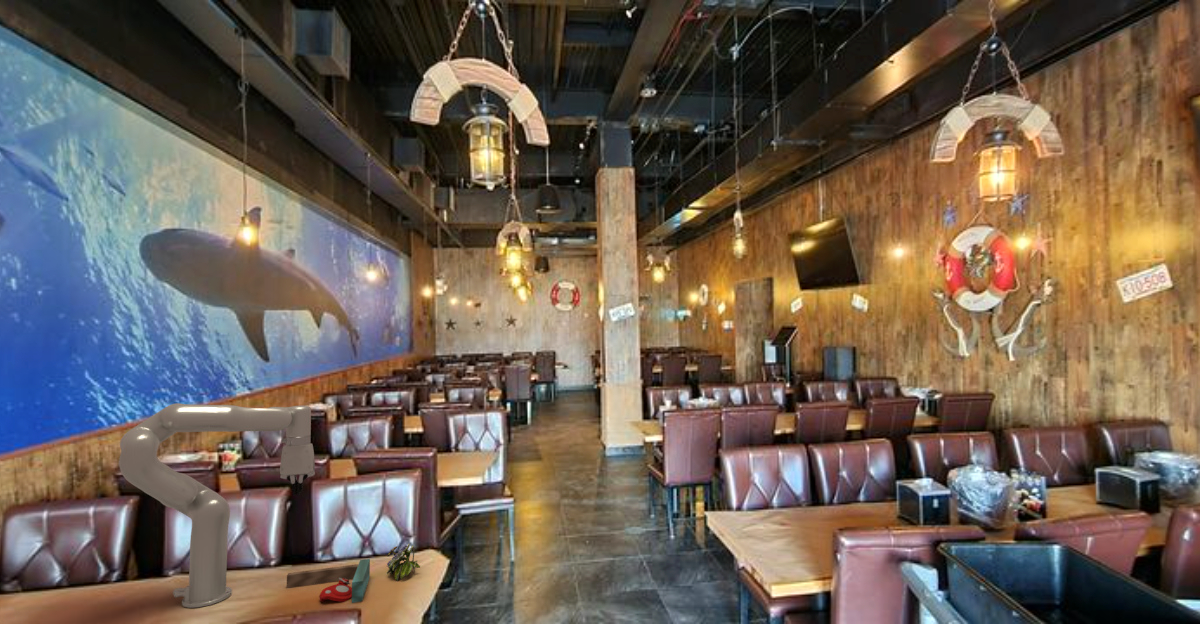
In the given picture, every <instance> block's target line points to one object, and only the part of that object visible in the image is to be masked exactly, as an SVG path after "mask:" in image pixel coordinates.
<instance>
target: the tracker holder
mask: <svg viewBox="0 0 1200 624" xmlns="http://www.w3.org/2000/svg"><path fill="white" fill-rule="evenodd" d="M339 579H340V580H339V581H338V583H336V584H332V585H329V586H327V587H325V588H323V589H322V591H321V592H320V594H319V596H318V597H319V601H320V602H321V603H323V602H325V601H328V600H330V601H334V602H343V603H344V602H347V601H349V600H352V586H349V585H351V582H350V580H347V579H344V578H343V579H342V578H339Z"/></svg>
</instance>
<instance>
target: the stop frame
mask: <svg viewBox="0 0 1200 624" xmlns="http://www.w3.org/2000/svg"><path fill="white" fill-rule="evenodd" d="M370 566H371V559H370V558H364V559H360V560H359V563H357V564H356V563H355V564H349V565H343V566H341V565H340V566H333V567H325V568H319V569H312V570H311V569H309V570H303V571H296V572H295V571H294V572H288V573H287V575H286V589H290V588H291V589H292V588H299V587H305V586H312V585H319V584H328V583H334V582H339V580H340V579H339V578H342V579H343V578H344V579H347V580H349V581H350V580H352V581H351V588H352V598H351V604H354V603H360V602H363V601H364V597H365V594H366V591H367V587H368V583H369V580H370V577H371V573H370V572H371V567H370Z"/></svg>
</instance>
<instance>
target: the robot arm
mask: <svg viewBox="0 0 1200 624" xmlns="http://www.w3.org/2000/svg"><path fill="white" fill-rule="evenodd" d="M311 422H312V408H311V407H310V406H309V405H293V406H284V407H283V406H271V407H270V406H269V407H267V408H259V407H257V408H256V407H247V406H246V407H245V406H238V405H234V404H233V405H232V404H191V403H190V404H187V403H186V404H185V403H180V402H179V403H172V404H170V405H167V406H166V407H164V408H163V409H160V410H159V411H158V412H157V413H154V415H151V416H150V417H148V418H147V419H145V420H144V421H142V422H141V423H139V424H137V425H136V426H133V428H131V429H129V430H128V431H127V432H125V434H124V435H123V436H122V437H121V439H120V442H119V448H120V454H119V461H118V465H119V470H120V472H121V475H122V477H124V480H126V481H127V482H128V483H130V484H131V485H132V486H134V487H136V488H137V489H139V490H141V491H142V492H144V493H145V494H147V495H149V496H150V497H152V498H154V499H155V500H156V501H159V502H160V504H162V505H163V506H165V507H167V508H170V509H174V510H176V511H177V512H179V513H180V514H182V515H184V516H186V517H188V518H190V519H191V531H190V538H189V539H190V541H189V542H190V543H189V545H190V546H189V569H188V571H189V573H188V574H189V575H188V585H187V586H186V587H178V588H174V589H173V591H172V595H173V597H174V598H180V597H183V598H182V600H181V605H182V607H185V608H187V609H190V608H191V609H192V608H195V609H196V608H201V607H206V606H211V605H213V604H214V605H215V604H217V603H219V602H220V603H221V602H222V601H224V600H225V599H228V598H229V597H230V596H231V595H232V593H233V589H232V588H231V587H230V586H227V571H228V570H227V566H228V565H227V563H228V559H227V558H228V537H229V536H228V533H229V524H230V518H231V517H230V516H231V508H230V505H229V503H228V501H227V500H226V498H224V497H223V496H222V495H220V494H219V493H217V492H216V491H214V490H213V489H211V488H209V487H208V486H206V485H205V484H203V483H201V482H199V481H198V480H197V479H195V478H193V477H191V476H190V475H188V474H187V473H183V472H178V471H176V470H175V469H173V468H171V467H170V466H168V464H166V463H164V462H163V461H160V460H159V458H158V454H157V453H158V450H159V447H160V444H161V443H163V442H164V441H166V440H167V439H169V438H171V437H172V436H174V435H175V434H176V433H197V432H198V433H199V432H201V433H202V432H205V433H207V432H212V433H213V432H214V433H215V432H216V433H217V432H219V433H220V432H228V433H231V432H232V433H234V432H280V431H284V430H285V431H286V433H285V436H286V437H285V438H281V442H280V443H282V444H285V445H284V446H282V449H281V450H282V451H281V456H280V457H281V458H280V467H279V474H280V477H279V478H280V479H283V480H288V481H289V482H290V483H291V486H292V487H291V492H292V494H293V496H300V495H301V493H302V492H303V487H304V484H303V483H304V481H305V480H306V479H307V478H311V477H313V476H314V475H316V472H315V467H316V466H315V465H316V464H315V461H316V460H315V452H314V446H313V443H311V438H312V437H311V435H312V434H311V430H312V427H311V426H312V423H311ZM297 476H299V477H298V480H297Z"/></svg>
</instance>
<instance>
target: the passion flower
mask: <svg viewBox="0 0 1200 624" xmlns="http://www.w3.org/2000/svg"><path fill="white" fill-rule="evenodd" d="M410 544H411V543H408V544H407V545H405V546H403V547H402V548H400V550H399V551H397V552H395V550H396V549H397V548H398V545H397V546H394V547H393V548H392V549H390V551H389V552H388V553H387V557H390V556H391V555H392V554H393V556H392V558H391V559H390V560H389V561H388V562H387V563H386V568H388V570H387V572H386V574H394V580H396V581H397V582H398V581H399V579H401V580H402V579H404V578H405V576H408V575H409V574H410V573H411V572H412V569H413V572H414V573H416V568H418V569H420V568H421V566H420V564H419V563H418V560H415V552H416V551H415V550H416V549H415V547H414V545H411V547H410ZM409 548H410V549H409ZM411 553H412V560H411V561H410V557H411ZM414 560H415V561H414ZM402 561H403V562H402ZM399 577H400V578H399Z"/></svg>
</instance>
